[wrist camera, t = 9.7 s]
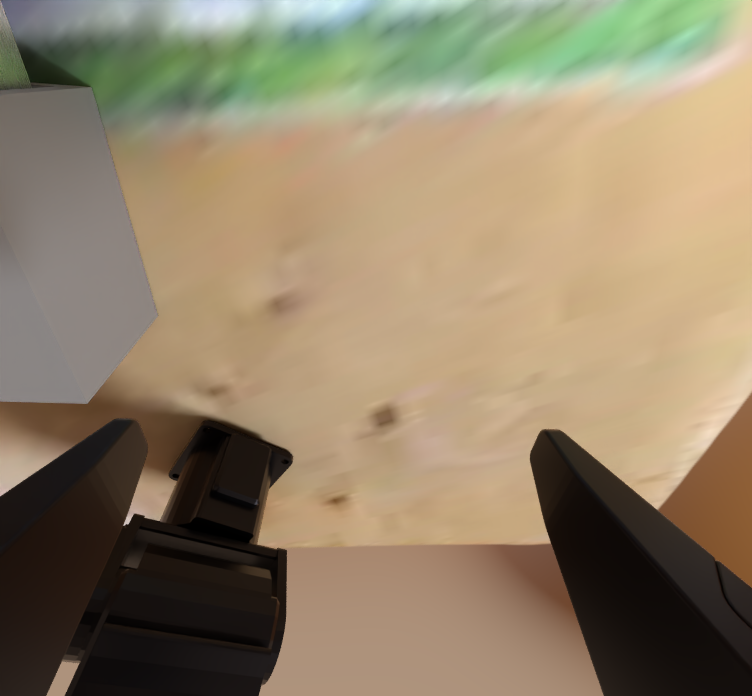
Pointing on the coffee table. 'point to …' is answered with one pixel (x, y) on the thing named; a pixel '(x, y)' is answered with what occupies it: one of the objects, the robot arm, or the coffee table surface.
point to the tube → (10, 59)
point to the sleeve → (63, 250)
